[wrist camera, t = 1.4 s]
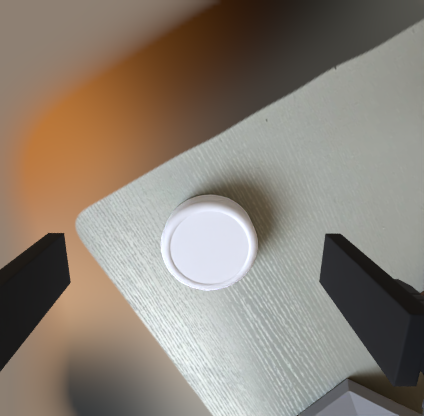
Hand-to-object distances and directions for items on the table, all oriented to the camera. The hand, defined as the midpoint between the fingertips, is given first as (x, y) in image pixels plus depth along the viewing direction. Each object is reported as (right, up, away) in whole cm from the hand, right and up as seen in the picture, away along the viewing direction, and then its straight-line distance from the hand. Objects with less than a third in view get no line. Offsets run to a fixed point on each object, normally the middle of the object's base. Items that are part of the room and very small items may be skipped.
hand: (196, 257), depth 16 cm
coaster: (0, -1, +19) cm, 19 cm away
